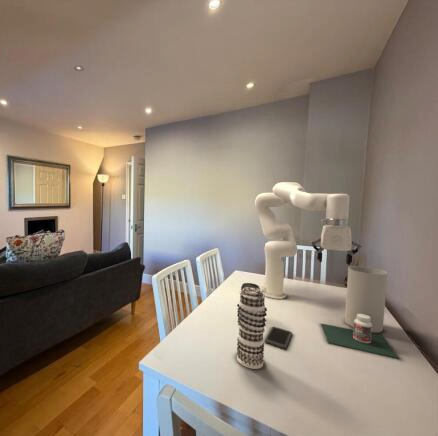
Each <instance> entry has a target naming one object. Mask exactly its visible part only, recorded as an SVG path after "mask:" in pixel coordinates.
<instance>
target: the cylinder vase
mask: <svg viewBox="0 0 438 436" xmlns="http://www.w3.org/2000/svg"><path fill="white" fill-rule="evenodd" d="M387 283H388V272H387V271H386V270H383V269H379V268H374V267H371V266H370V267H369V266H361V265H351V266H350V265H349V266H348V267H347V281H346V295H345V296H346V298H345V312H344V322H345V323H346V324H347V325H348V326H350V327H352V328H354V320H355V319H357V314H365V315H367V316H369V317H370V318H371V319H370V322H371V323H372V334H377V333H381V332H383V330H384V321H385V308H386V297H387Z"/></svg>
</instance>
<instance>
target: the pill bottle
mask: <svg viewBox="0 0 438 436" xmlns="http://www.w3.org/2000/svg"><path fill="white" fill-rule="evenodd" d="M370 319H371V318H370V317H369V316H367V315H365V314H357V319H355V320H354V327H353V329H352V330H353V338H354V339H355V340H357V341H359V342H362V343H371V336H372V334H373V333H372V323H371V322H370Z"/></svg>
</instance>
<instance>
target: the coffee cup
mask: <svg viewBox="0 0 438 436" xmlns="http://www.w3.org/2000/svg"><path fill="white" fill-rule="evenodd" d="M258 285H259V284H256V283H252V282H244V283H242V284H241V286H240V291H241V290H242V289H244V288H245V287H254V288H257V289H259V290H260V288H259V286H258Z"/></svg>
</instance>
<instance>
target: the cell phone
mask: <svg viewBox="0 0 438 436" xmlns="http://www.w3.org/2000/svg"><path fill="white" fill-rule="evenodd" d="M292 334H293V333H292V331H290V330H287V329H284V328H280V327H278V326H277V327H276V326H271V328H270V330H269V331H268V334H267V335H266V337H265V339H264V343H266V344H268V345H272V346H274V347H277V348H281V349H284V350H286V349H287V347H288V345H289V342H290V340H291V337H292Z"/></svg>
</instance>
